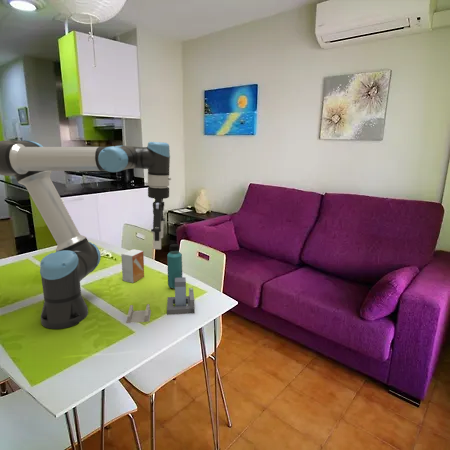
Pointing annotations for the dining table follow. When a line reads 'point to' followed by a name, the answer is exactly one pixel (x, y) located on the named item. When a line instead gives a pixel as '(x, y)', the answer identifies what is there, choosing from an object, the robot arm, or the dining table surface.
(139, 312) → the grey u-shaped block
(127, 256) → the small box
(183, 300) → the plug
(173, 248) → the beverage bottle
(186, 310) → the port
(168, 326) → the dining table surface
